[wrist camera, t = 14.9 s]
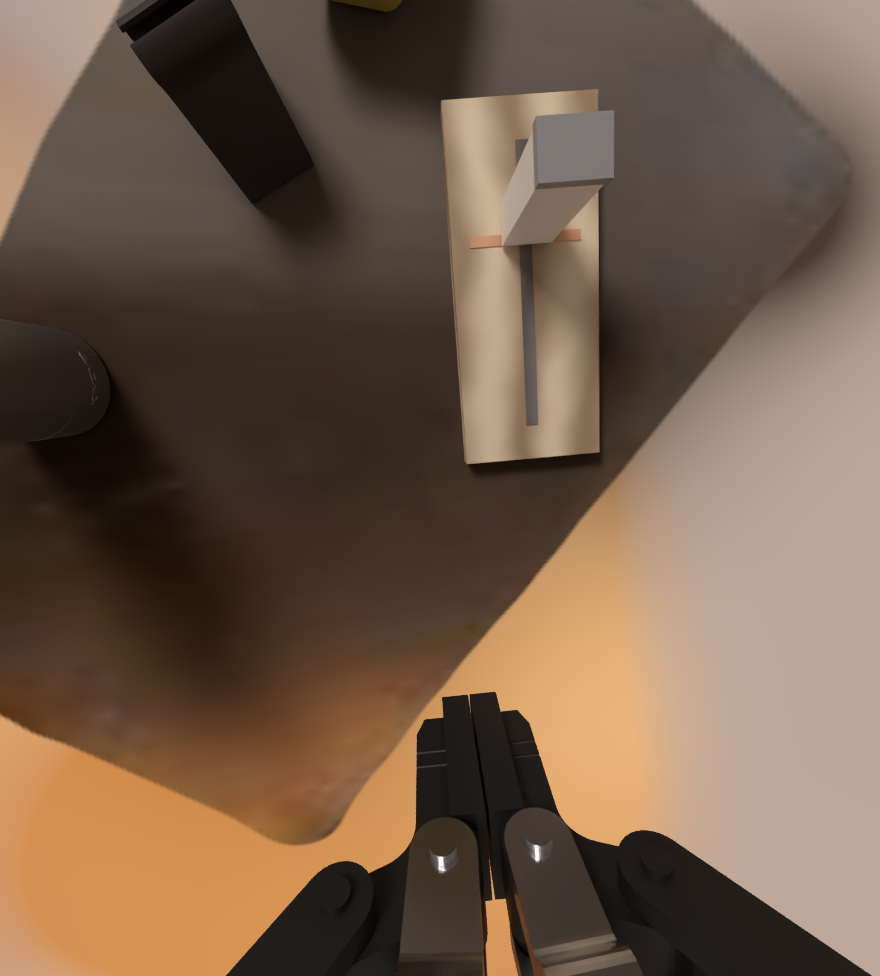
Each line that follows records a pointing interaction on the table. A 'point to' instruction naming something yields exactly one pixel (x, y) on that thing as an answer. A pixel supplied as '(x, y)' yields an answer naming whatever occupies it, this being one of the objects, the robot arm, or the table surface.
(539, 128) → the fader knob
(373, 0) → the flower pot
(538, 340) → the wooden slider board
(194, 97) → the phone stand
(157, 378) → the table surface
